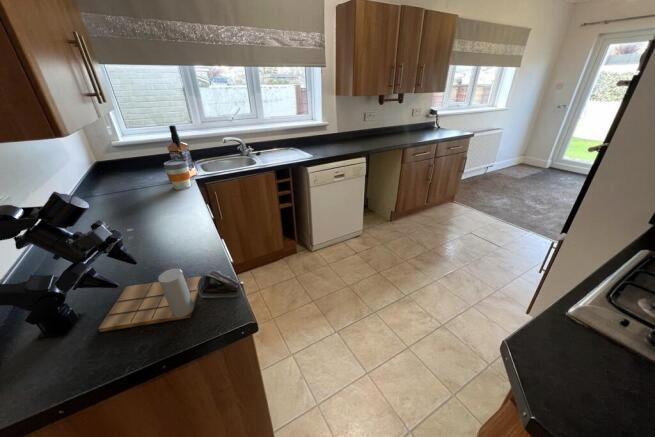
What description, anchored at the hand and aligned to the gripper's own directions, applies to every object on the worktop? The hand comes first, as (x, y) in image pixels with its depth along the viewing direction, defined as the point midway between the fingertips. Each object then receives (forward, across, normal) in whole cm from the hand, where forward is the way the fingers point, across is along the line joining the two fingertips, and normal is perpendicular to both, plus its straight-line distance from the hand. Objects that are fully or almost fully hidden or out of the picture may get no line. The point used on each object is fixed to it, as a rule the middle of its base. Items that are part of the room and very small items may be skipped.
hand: (128, 274), depth 69 cm
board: (+11, +2, +7) cm, 13 cm away
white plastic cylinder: (+16, -3, 0) cm, 17 cm away
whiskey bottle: (-10, +122, +28) cm, 125 cm away
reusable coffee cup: (-7, +100, +25) cm, 104 cm away
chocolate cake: (+23, +5, -5) cm, 25 cm away
